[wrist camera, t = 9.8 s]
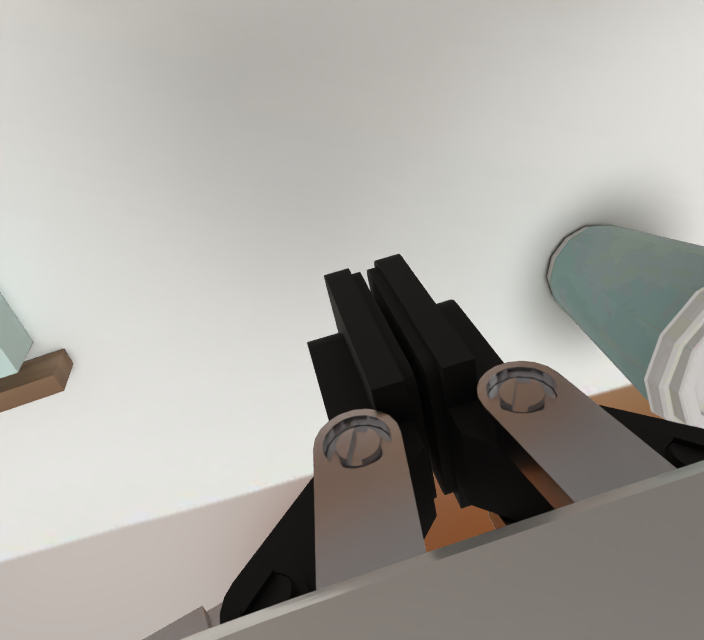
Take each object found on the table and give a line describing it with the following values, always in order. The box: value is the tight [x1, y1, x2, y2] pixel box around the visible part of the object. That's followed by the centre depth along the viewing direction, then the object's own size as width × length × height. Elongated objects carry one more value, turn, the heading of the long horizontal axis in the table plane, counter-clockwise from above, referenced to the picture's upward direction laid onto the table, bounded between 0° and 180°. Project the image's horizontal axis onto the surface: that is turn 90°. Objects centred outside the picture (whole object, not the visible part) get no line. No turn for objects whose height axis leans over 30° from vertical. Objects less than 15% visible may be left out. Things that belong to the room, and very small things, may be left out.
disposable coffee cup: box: [547, 225, 704, 429], centre depth 35 cm, size 11×11×15 cm
